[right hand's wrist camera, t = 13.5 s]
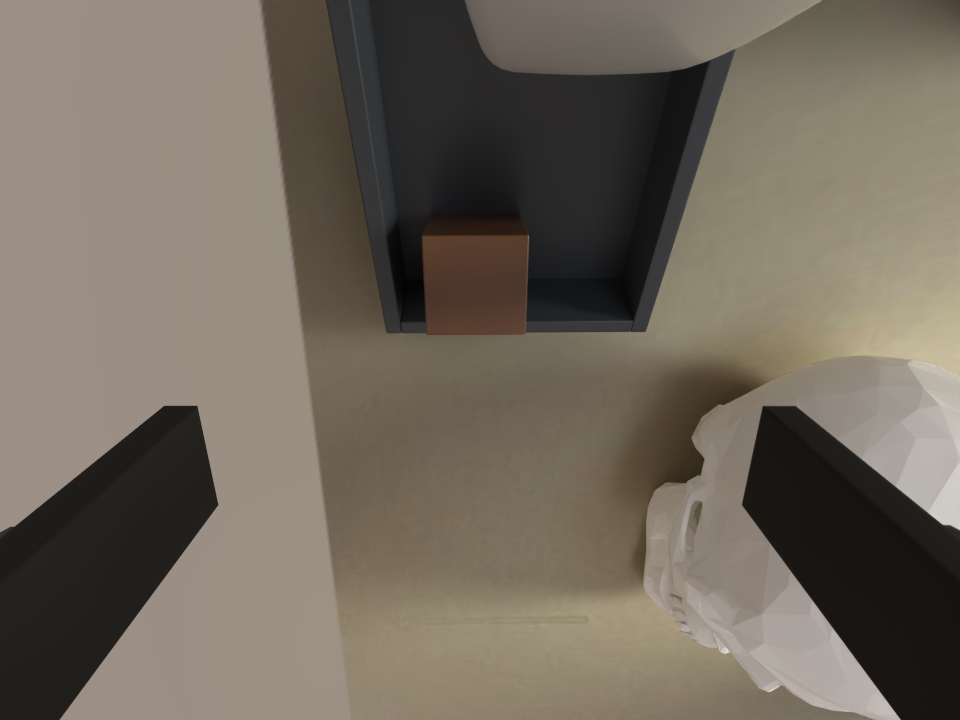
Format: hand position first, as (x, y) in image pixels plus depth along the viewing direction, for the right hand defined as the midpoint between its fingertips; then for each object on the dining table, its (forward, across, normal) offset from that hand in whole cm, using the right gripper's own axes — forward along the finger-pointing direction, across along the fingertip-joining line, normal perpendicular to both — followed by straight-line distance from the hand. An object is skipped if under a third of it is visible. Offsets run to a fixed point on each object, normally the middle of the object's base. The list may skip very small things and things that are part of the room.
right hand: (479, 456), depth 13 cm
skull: (+19, +17, -13) cm, 29 cm away
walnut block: (+17, 0, +2) cm, 17 cm away
